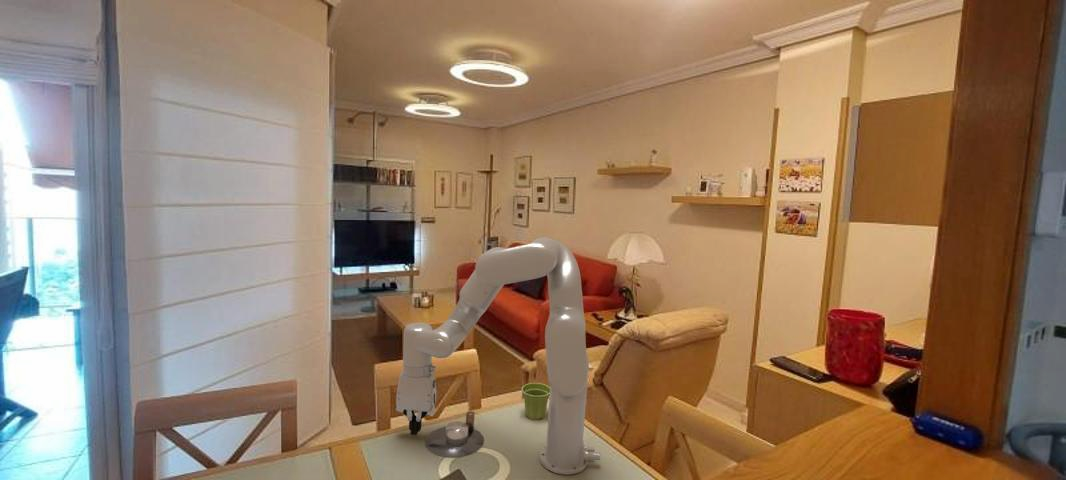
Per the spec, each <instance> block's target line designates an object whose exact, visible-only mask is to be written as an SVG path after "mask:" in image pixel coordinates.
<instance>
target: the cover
mask: <svg viewBox="0 0 1066 480" xmlns="http://www.w3.org/2000/svg"><path fill="white" fill-rule="evenodd" d="M445 427H446V444H447V445H449V446H452V447H460V446H463V445H465V444H466V443H467V441H468V425H467V424H466V422H464V421H452V422H449V423H448V424H446V426H445Z"/></svg>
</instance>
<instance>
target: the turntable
mask: <svg viewBox="0 0 1066 480" xmlns="http://www.w3.org/2000/svg"><path fill="white" fill-rule="evenodd" d="M475 416H476V415H475V411H470V410H469V411H467V412H465V423H466V424H467V425H468V441H467V443H466V444H465V445H463V446H460V447H452V446H449V445H447V444H446V426H443V427H439V428H437V429H434V430H433V431H432V432H429V434H428V435H427V436H426V438H425V439H424V441H425V442H424V445H425V448H426V450H427V451H428V452H430V453H431V454H432V455H435V456H437V457H442V458H447V459H457V458H465V457H467V456H470V455H473V454H475V453H478V451H480V449H482V447H483V446H484V443H485V438H484V436H483V434H482V433H481V432H480V431H478V430H477V429H475Z"/></svg>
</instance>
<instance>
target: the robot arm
mask: <svg viewBox="0 0 1066 480" xmlns="http://www.w3.org/2000/svg"><path fill="white" fill-rule="evenodd" d="M474 267H475V268H474V270H473V272H472V273H471V275H470V276H469V278H468V279H467V280H466V282H465V283H464V285H463V286H462V287H461V288H460V292H459V299H458V301H457V304H456V305H455V306H454V308H453V310H452V311H451V312H450V314H449V315H448V316H447V319H446V320H445V321H444V322H443V323H442V324H441V325H440V326H439V327H437V328H434V329H433V327H432V326H431V325H430V324H429V323H427V322H420V321H419V322H417V321H416V322H411V323H408V324H407V325H406V326H405V327H404V329H403V347H402V348H403V349H402V350H403V351H402V354H403V355H402V371H401V372H400V375H399V378H398V383H397V389H396V397H395V398H396V399H395V400H396V401H395V405H396V408H395V410H396V412H398V413H401V414H402V413H403V414H404V416H405V417H406V418H407V420H408V431H410V435H411V436H413V435H414V436H417V435H418V434H419V432H420V431H422V419H424V418H425V417H426V416H431V415H432V416H433V415H434V414H435V413H436V407H435V405H436V404H437V385H436V384H437V382H436V376H435V372H437V369H438V368H437V365H434V364H433V362H432V358H437V359H446V358H448V357H450V356H451V355H452V354H454V353H455V351H456V350H457V349H458V348H459V347H460V346H461V345H462V343H463V342H464V340H465V339H466V338H468V335H469V334H470V333H471V331H472V330H473V328H474V327H475V326H476V324H477V323H478V322H479V320H480V318H481V317H482V316H483V314H484V313H486V311H487V310H488V308H489V307H490V305H491V304H492V303H493V302H494V299H495V298H496V296H497V295H498V294H499V292H500V291H501V290H502V289H503V287H504V285H510V284H515V283H519V282H520V283H521V282H525V281H530V280H535V279H539V278H543V277H545V276H547V284H548V285H547V286H548V287H547V288H548V290H547V291H548V299H549V300H548V302H549V316H548V319H547V323H546V325H545V329H544V330H545V331H544V332H545V334H544V338H545V339H544V340H545V354H546V355H545V358H546V369H547V379H548V383H549V387H550V396H549V398H548V413H547V414H548V417H547V431H546V446H545V447H543V448H542V450H541V451H540V453H539V460H540V461H539V462H540V463H541V465H542V466H543V467H544V468H545V469H546V470H548V471H550V472H552V473H555V474H559V475H567V476H568V475H575V474H579V473H581V472H583V471H584V470H585V469H586V468H587V466H588V463H589V462H588V460H595V461H601V452H599V451H595V450H596V449H595V447H591V446H590V447H589V446H586V445H585V443H584V441H585V440H584V432H585V416H586V407H587V392H588V378H589V367H590V365H589V364H590V361H589V356H588V354H587V343H586V327H587V325H586V318H585V313H584V310H585V309H584V301H583V300H584V299H583V297H584V296H583V290H582V278H581V272H580V268H579V265H578V261H577V260H576V257H575V256H574V254H573V253H572V251H571V250H570V249H569V248H568V247H567V246H566V245H565V244H563V243H561V242H560V241H558V240H556V239H553V238H551V237H538V238H536V239H534V240H532V241H531V242H530V243H526V244H523V245H522V244H521V245H517V246H512V247H508V248H504V247H501V246H496V247H492V248H490V249H488V250H486V251H484V252H483V253H482V254H481V255H479V257H478V259H477V260H476V263H475V266H474ZM416 412H417V413H416Z"/></svg>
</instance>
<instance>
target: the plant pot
mask: <svg viewBox="0 0 1066 480" xmlns="http://www.w3.org/2000/svg"><path fill="white" fill-rule="evenodd" d="M521 392H522V395H523V400H524V401H523V402H524V411H525V416H527V418H528V419H529V420H537V421H538V420H540V419H544V418H545V416H546V412H547V406H548V403H549V399H550V385H547V384H544V383H540V382H531V383H526V384H525V385H524V384H523V385H522V387H521Z"/></svg>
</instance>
